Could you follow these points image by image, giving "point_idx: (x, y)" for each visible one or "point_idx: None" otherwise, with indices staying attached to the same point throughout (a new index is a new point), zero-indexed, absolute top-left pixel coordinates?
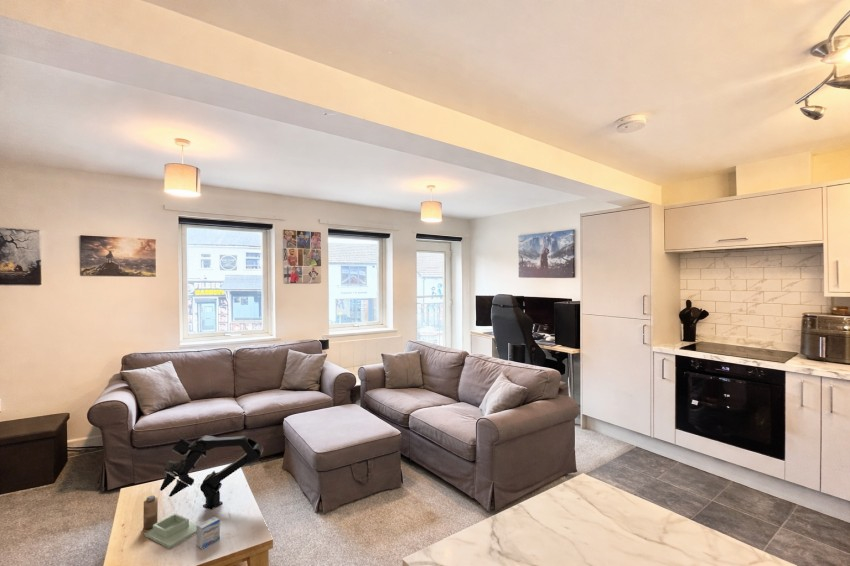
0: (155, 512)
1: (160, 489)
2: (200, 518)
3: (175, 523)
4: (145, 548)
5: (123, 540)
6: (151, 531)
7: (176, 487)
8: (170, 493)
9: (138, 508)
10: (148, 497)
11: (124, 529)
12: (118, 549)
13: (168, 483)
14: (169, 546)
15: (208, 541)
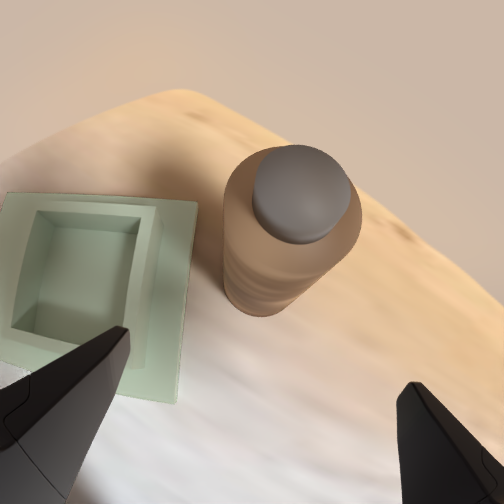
0: (224, 258)
1: (412, 386)
2: None
3: None
4: (107, 156)
5: None
6: (174, 225)
7: (1, 396)
8: (101, 340)
9: (476, 352)
10: (332, 177)
11: None
12: (217, 114)
13: (413, 497)
14: (10, 193)
15: None
